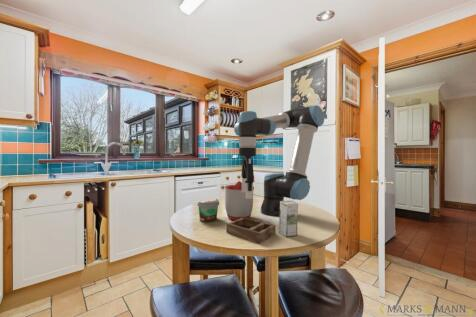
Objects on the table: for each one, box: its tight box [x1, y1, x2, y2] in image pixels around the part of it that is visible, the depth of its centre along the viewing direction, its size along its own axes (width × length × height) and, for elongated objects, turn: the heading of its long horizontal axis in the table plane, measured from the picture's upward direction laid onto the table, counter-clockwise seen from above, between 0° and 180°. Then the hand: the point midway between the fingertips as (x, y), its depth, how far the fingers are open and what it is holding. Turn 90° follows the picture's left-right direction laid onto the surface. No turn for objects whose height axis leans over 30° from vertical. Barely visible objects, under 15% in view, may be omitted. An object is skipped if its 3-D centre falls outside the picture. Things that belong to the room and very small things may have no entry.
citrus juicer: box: [224, 180, 254, 221], centre depth 119 cm, size 16×17×20 cm
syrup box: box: [278, 199, 299, 238], centre depth 96 cm, size 6×6×14 cm
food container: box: [197, 198, 220, 223], centre depth 113 cm, size 12×6×10 cm, turn 131°
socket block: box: [226, 217, 276, 245], centre depth 96 cm, size 12×18×4 cm
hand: (246, 195), depth 97 cm, fingers open, 13 cm apart
